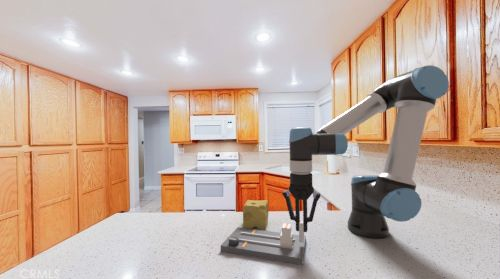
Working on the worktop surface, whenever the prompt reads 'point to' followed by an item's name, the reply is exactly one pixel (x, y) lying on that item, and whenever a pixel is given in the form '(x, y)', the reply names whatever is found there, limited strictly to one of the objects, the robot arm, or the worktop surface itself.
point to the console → (264, 245)
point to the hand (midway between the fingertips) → (301, 240)
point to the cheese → (255, 214)
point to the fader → (286, 235)
